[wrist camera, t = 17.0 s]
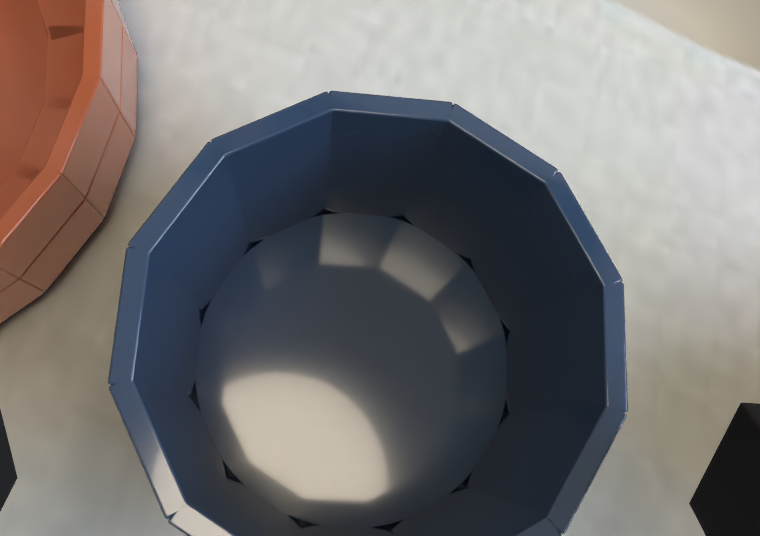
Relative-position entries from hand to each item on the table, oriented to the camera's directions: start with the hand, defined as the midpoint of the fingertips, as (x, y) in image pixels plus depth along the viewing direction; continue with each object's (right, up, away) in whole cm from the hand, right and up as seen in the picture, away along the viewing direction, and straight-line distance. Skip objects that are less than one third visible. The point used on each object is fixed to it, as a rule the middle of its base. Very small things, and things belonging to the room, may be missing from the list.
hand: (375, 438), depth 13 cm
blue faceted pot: (-1, 0, +10) cm, 10 cm away
